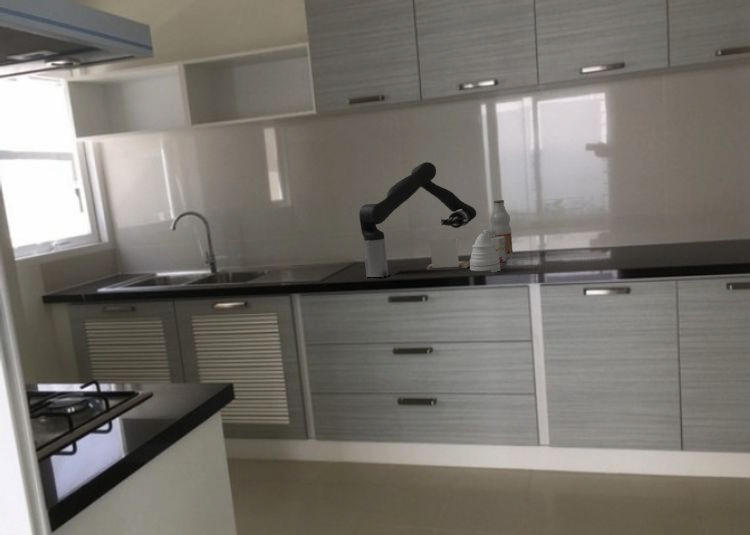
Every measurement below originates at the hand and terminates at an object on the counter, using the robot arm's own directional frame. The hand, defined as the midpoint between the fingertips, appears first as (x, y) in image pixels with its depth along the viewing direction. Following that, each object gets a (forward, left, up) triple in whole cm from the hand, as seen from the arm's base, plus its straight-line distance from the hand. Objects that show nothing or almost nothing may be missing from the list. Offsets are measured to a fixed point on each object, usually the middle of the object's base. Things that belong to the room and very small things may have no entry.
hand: (449, 223), depth 298 cm
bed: (0, -6, -21) cm, 21 cm away
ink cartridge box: (+19, +12, -21) cm, 31 cm away
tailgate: (0, -12, -19) cm, 23 cm away
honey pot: (+18, -14, -21) cm, 31 cm away
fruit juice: (+19, +24, -21) cm, 37 cm away
